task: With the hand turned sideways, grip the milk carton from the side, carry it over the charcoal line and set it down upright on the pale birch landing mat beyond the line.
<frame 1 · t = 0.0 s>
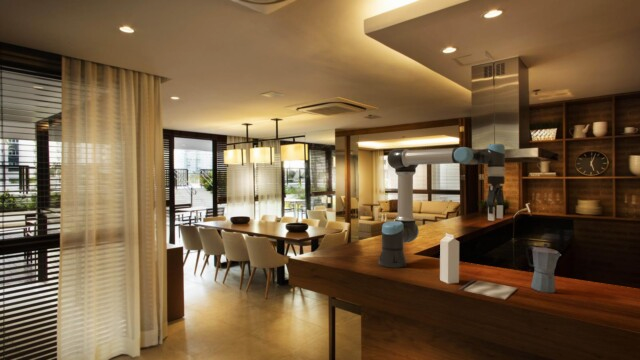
hand: (495, 219, 170), 28 cm above the table, tool pointing down, fingers open, 13 cm apart
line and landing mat: (466, 285, 156), on the table
milk: (449, 281, 162), on the table
moka pot: (541, 290, 151), on the table
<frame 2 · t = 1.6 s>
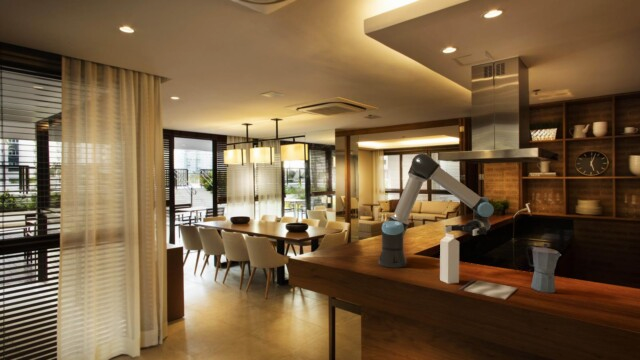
hand: (459, 231, 170), 22 cm above the table, tool horizontal, fingers open, 13 cm apart
nothing on the table moved.
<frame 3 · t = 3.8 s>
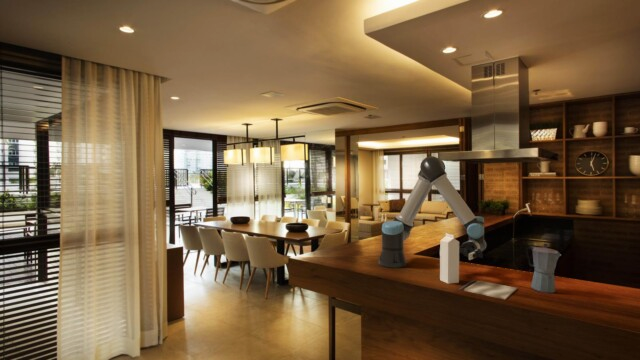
hand: (454, 254, 164), 12 cm above the table, tool horizontal, fingers open, 13 cm apart
nothing on the table moved.
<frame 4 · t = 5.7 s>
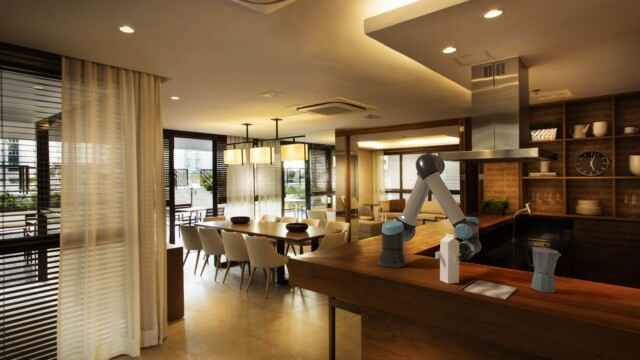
hand: (445, 257, 158), 12 cm above the table, tool horizontal, fingers closed on milk, 8 cm apart
milk: (449, 281, 162), on the table, touching gripper
everything else where it was.
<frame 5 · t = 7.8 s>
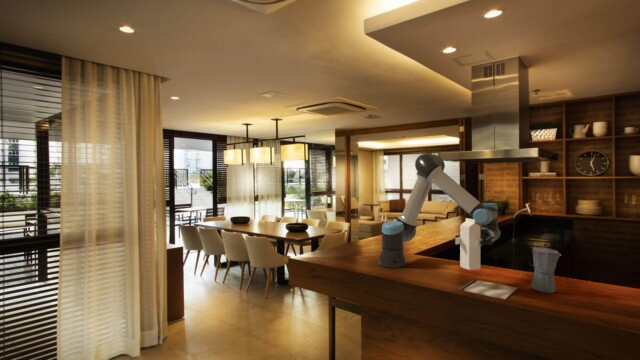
hand: (466, 242, 152), 20 cm above the table, tool horizontal, fingers closed on milk, 8 cm apart
milk: (470, 268, 156), point 8 cm above the table, touching gripper
everything else where it was.
when the fingers open (14 cm above the table, at t = 10.2 s): milk drops 1 cm, resting on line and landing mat.
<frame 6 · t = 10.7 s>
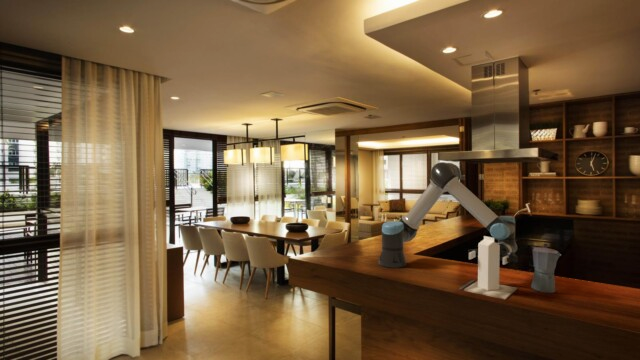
hand: (486, 258, 148), 14 cm above the table, tool horizontal, fingers open, 13 cm apart
milk: (488, 288, 150), resting on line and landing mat
everything else where it was.
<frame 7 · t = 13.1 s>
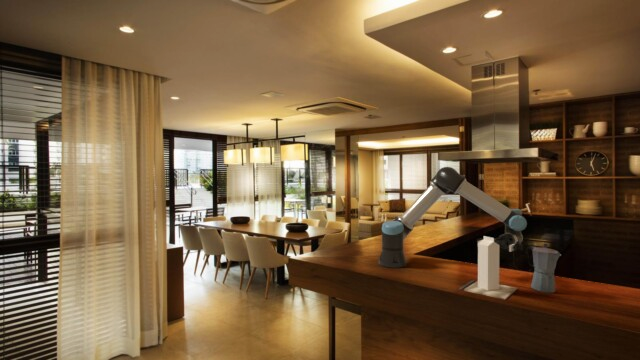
hand: (493, 246, 161), 17 cm above the table, tool horizontal, fingers open, 13 cm apart
nothing on the table moved.
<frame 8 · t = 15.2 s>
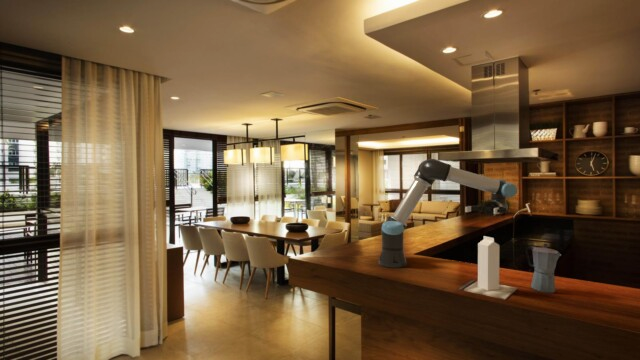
hand: (479, 210, 174), 32 cm above the table, tool horizontal, fingers open, 13 cm apart
nothing on the table moved.
at the end: milk inside the target area (2.5 cm from its centre), resting on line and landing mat; milk tilted 0°; the gripper is holding nothing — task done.
